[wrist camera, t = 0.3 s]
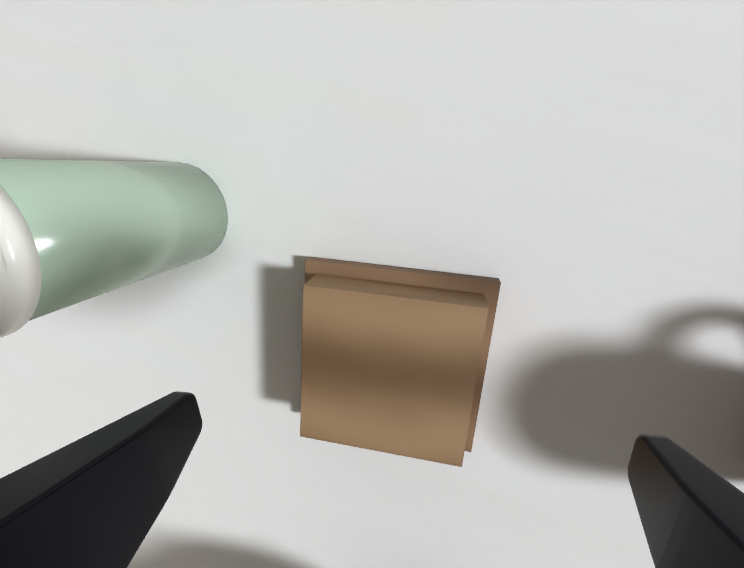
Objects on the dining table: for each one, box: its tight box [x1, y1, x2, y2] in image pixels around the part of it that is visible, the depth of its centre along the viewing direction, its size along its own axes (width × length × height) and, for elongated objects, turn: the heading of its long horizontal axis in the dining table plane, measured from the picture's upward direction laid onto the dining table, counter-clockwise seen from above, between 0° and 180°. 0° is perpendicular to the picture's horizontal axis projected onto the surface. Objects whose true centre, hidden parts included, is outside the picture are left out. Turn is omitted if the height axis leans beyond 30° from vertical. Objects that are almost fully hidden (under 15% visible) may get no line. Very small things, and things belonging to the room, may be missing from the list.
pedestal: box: [300, 257, 501, 467], centre depth 22 cm, size 10×10×3 cm
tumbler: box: [0, 159, 228, 338], centre depth 17 cm, size 6×6×12 cm
